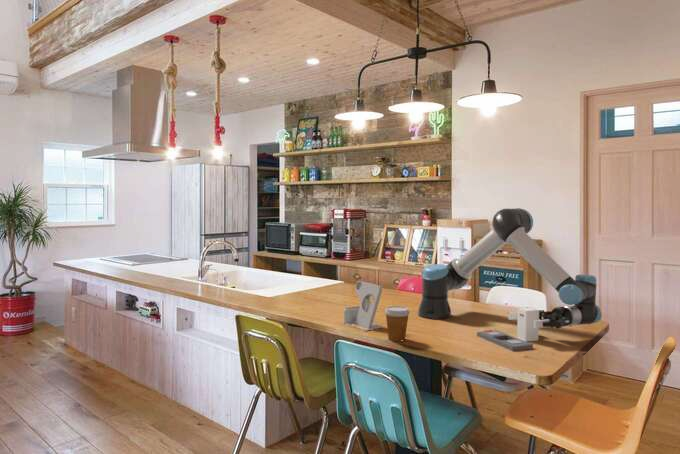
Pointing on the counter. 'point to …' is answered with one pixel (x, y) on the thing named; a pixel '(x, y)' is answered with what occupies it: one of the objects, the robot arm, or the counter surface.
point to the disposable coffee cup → (396, 322)
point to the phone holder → (364, 306)
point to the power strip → (504, 340)
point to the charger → (527, 324)
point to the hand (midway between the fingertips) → (521, 320)
